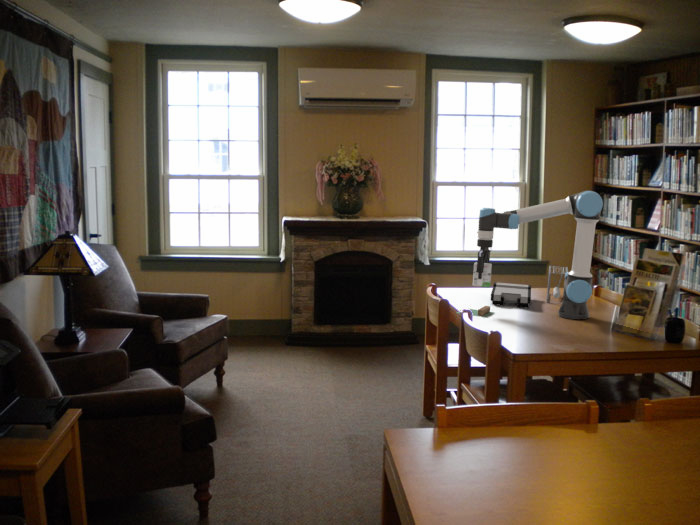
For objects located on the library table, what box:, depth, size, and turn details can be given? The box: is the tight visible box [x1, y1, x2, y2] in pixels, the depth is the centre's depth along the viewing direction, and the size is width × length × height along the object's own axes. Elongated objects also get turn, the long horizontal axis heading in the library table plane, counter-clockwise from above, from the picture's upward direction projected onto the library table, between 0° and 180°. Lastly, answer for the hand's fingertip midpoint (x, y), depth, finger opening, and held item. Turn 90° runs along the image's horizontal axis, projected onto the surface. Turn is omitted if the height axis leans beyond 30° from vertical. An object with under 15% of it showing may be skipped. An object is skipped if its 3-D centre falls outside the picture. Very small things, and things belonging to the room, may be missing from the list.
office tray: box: [490, 281, 532, 309], centre depth 394 cm, size 21×32×8 cm, turn 166°
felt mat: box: [455, 308, 496, 318], centre depth 362 cm, size 16×14×1 cm
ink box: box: [472, 261, 493, 288], centre depth 358 cm, size 9×5×12 cm, turn 71°
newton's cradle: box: [546, 265, 569, 304], centre depth 408 cm, size 30×10×18 cm, turn 164°
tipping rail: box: [477, 305, 491, 317], centre depth 360 cm, size 2×12×3 cm, turn 152°
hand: (481, 284), depth 359 cm, fingers closed on ink box, 5 cm apart
